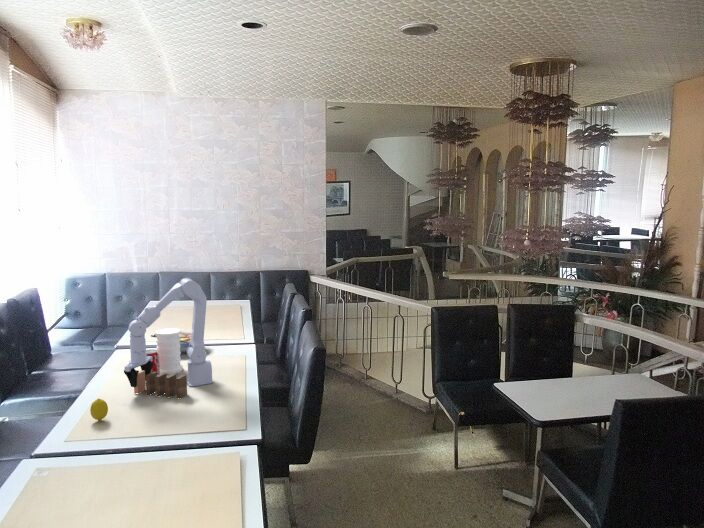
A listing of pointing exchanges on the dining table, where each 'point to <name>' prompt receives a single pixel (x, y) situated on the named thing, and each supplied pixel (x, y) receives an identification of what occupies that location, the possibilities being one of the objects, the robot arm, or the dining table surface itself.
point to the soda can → (154, 360)
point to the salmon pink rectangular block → (140, 382)
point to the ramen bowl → (183, 340)
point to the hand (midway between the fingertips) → (140, 383)
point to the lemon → (99, 409)
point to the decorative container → (169, 350)
